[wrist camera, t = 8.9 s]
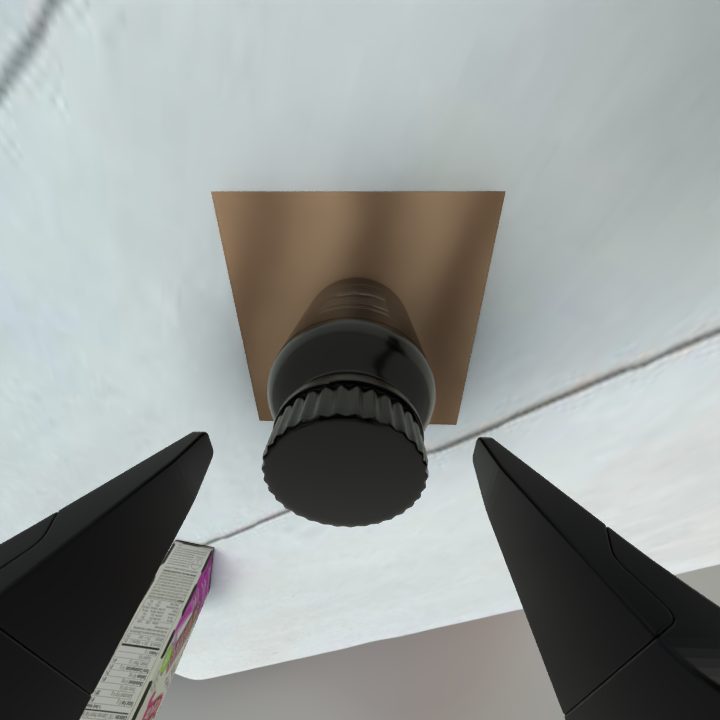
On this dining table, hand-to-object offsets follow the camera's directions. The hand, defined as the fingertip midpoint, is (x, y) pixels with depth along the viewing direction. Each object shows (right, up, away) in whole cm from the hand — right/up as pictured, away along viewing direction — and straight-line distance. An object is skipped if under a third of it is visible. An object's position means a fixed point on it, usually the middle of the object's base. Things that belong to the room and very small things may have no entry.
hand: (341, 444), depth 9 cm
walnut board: (0, +5, +10) cm, 12 cm away
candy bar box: (-21, -24, +26) cm, 41 cm away
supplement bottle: (0, +5, +9) cm, 11 cm away
